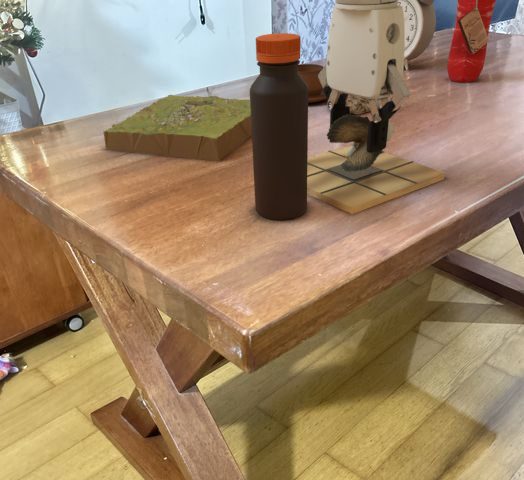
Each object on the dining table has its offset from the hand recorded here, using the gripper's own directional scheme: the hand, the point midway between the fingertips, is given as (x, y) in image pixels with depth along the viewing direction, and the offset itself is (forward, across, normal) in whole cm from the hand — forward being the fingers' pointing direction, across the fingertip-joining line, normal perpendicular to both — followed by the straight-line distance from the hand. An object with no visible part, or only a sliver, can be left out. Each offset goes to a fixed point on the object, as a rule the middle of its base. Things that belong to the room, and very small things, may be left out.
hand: (357, 142), depth 76 cm
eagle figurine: (+3, -1, 0) cm, 3 cm away
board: (+5, 0, 0) cm, 5 cm away
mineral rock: (+5, +27, -25) cm, 37 cm away
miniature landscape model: (+5, +35, +7) cm, 36 cm away
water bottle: (+5, +26, -58) cm, 64 cm away
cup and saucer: (+5, +39, -23) cm, 46 cm away
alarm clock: (+5, +48, -60) cm, 77 cm away
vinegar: (+5, -2, +15) cm, 16 cm away
